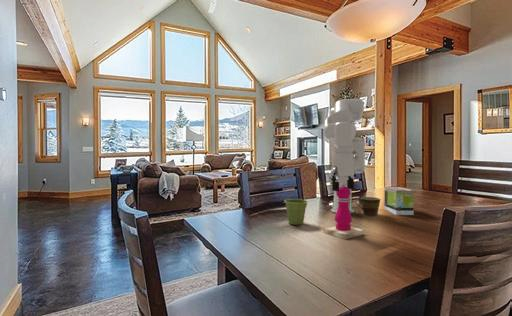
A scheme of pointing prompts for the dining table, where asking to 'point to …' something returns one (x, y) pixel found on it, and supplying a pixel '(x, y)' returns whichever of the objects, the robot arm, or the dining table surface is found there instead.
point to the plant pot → (296, 210)
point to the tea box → (399, 200)
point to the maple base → (343, 232)
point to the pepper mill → (343, 209)
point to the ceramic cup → (369, 205)
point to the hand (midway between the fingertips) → (343, 189)
